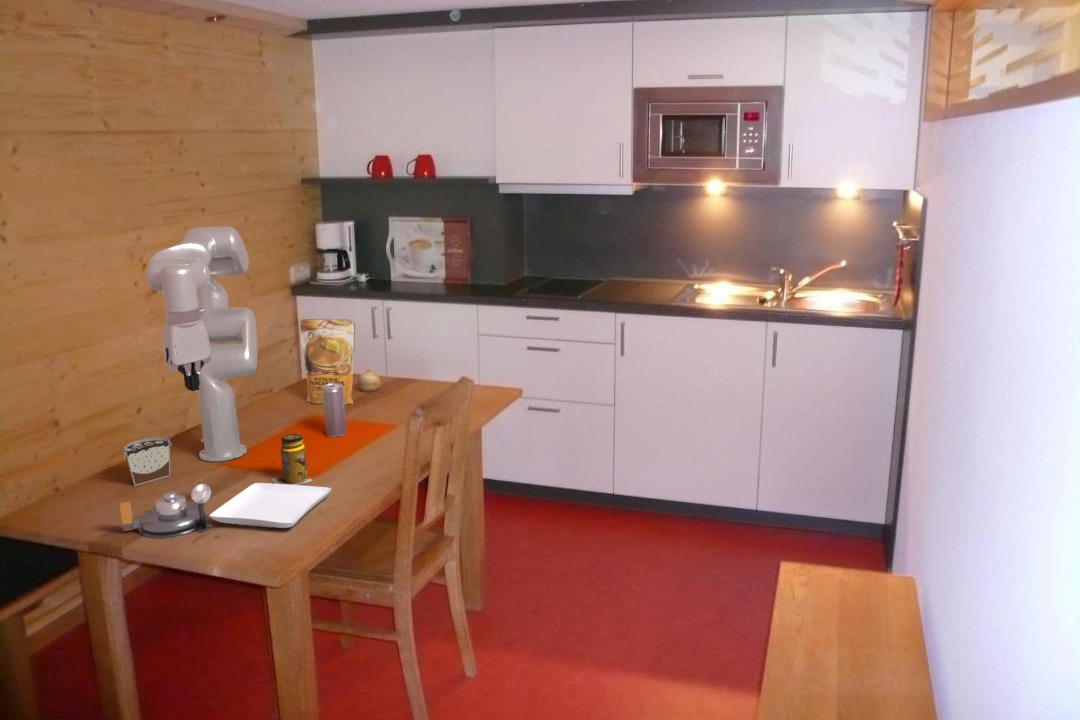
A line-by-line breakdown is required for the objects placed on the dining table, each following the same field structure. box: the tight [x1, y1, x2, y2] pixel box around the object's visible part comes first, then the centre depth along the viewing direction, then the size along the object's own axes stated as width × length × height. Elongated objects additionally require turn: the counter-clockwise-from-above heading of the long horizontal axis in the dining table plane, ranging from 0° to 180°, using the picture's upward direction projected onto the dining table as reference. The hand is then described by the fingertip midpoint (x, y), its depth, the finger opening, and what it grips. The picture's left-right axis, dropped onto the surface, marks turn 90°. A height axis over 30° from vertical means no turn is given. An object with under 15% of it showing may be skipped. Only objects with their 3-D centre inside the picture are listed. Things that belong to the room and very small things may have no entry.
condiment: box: [271, 432, 313, 485], centre depth 235 cm, size 7×8×12 cm
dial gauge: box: [190, 483, 214, 533], centre depth 207 cm, size 3×4×11 cm
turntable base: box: [138, 512, 209, 539], centre depth 211 cm, size 15×15×1 cm
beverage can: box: [322, 383, 347, 438], centre depth 270 cm, size 6×6×15 cm
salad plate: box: [208, 482, 332, 529], centre depth 216 cm, size 21×21×3 cm
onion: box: [356, 368, 381, 393], centre depth 317 cm, size 8×8×7 cm
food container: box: [122, 437, 173, 487], centre depth 240 cm, size 12×6×10 cm, turn 134°
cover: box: [155, 491, 188, 522], centre depth 209 cm, size 6×6×6 cm
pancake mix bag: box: [297, 318, 356, 406], centre depth 301 cm, size 7×19×28 cm, turn 77°
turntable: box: [119, 501, 206, 535], centre depth 210 cm, size 18×14×6 cm
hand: (193, 389), depth 223 cm, fingers closed
